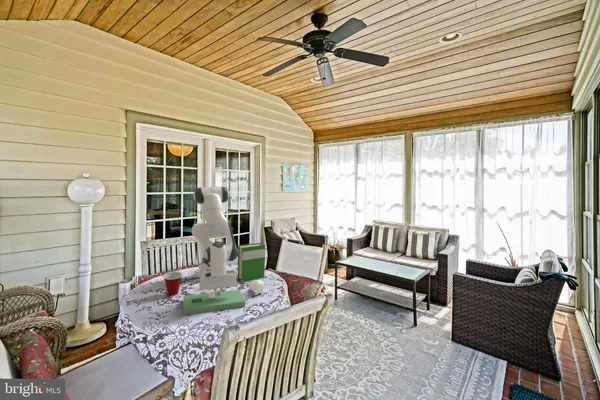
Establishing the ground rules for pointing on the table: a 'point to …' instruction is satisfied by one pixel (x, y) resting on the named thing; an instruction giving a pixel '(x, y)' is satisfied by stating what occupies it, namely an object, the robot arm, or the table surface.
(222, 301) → the green
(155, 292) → the table surface
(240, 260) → the hardback book
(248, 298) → the table surface
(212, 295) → the ball
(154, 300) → the table surface
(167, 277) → the plastic cup
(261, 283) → the white snowman figurine
